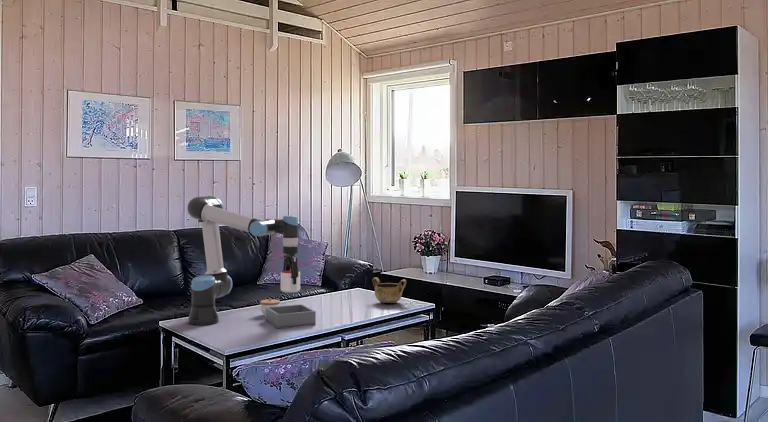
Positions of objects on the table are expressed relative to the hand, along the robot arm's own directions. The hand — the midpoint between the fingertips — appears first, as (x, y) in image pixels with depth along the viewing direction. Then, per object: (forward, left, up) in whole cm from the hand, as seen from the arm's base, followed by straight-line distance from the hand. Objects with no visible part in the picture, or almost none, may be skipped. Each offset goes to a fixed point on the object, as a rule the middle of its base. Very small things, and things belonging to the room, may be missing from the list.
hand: (290, 288), depth 337 cm
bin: (0, 0, -18) cm, 18 cm away
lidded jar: (-4, +22, -18) cm, 29 cm away
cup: (0, 0, -1) cm, 1 cm away
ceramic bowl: (+70, +25, -18) cm, 76 cm away
